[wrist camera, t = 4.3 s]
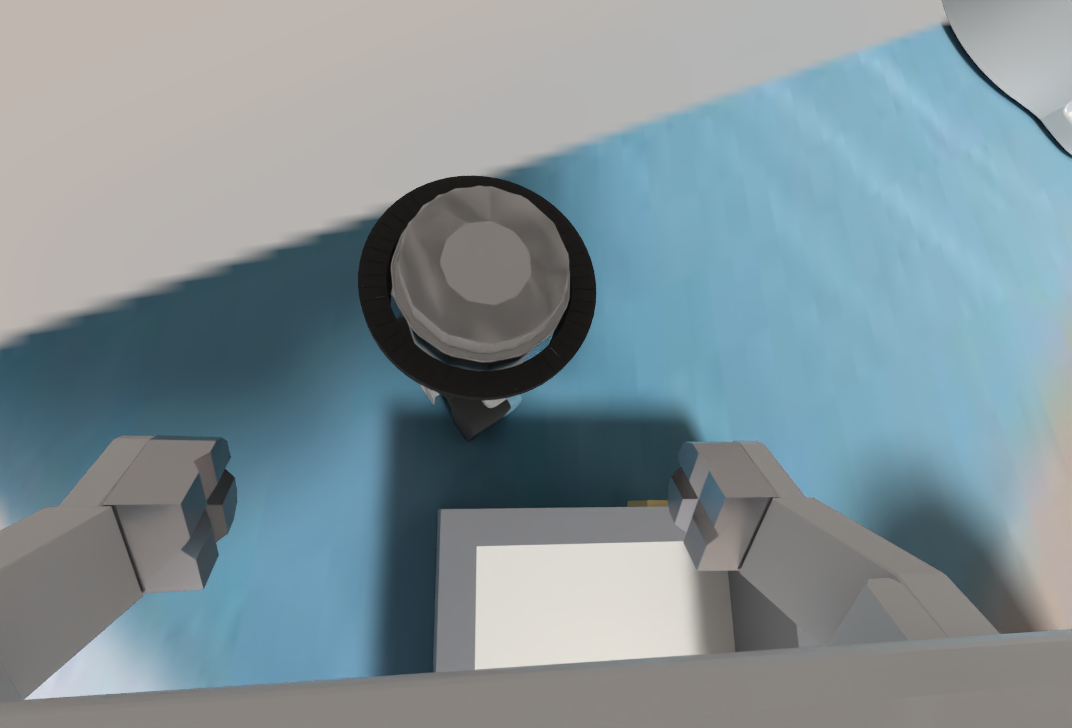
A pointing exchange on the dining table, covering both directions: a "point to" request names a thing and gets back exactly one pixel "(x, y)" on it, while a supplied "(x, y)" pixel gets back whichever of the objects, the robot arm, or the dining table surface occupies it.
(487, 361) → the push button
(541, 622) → the bin
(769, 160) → the dining table surface
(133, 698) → the robot arm
